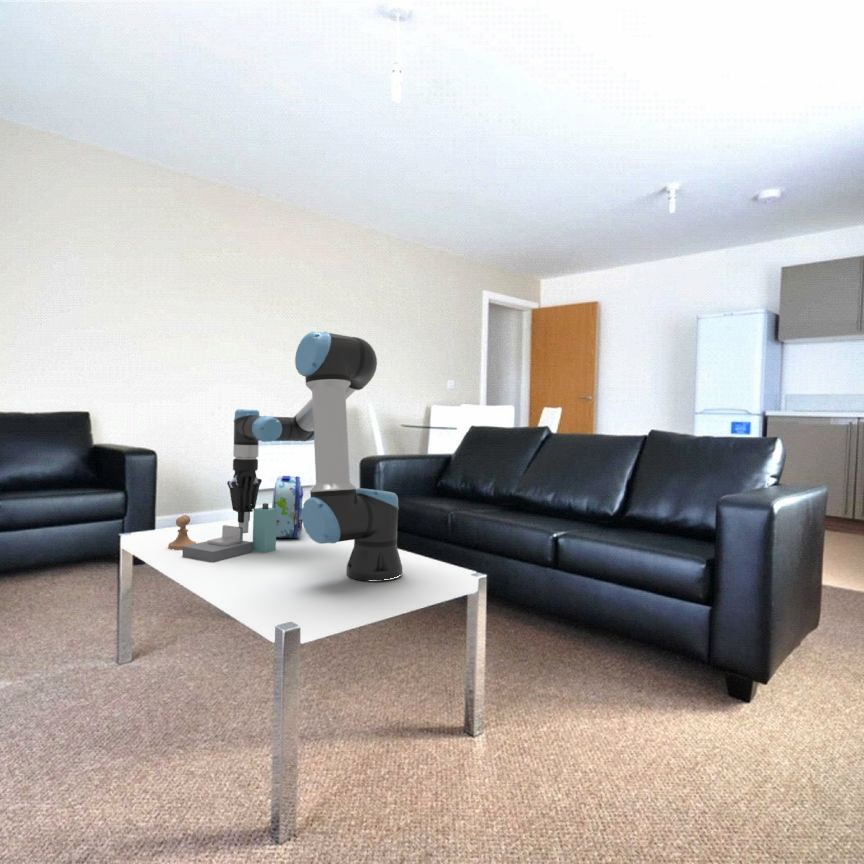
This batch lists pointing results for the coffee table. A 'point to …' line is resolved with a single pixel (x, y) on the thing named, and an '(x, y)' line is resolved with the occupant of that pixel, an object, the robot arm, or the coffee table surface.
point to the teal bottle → (264, 528)
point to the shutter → (228, 536)
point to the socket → (216, 551)
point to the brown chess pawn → (181, 534)
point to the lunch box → (288, 506)
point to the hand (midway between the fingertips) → (243, 532)
